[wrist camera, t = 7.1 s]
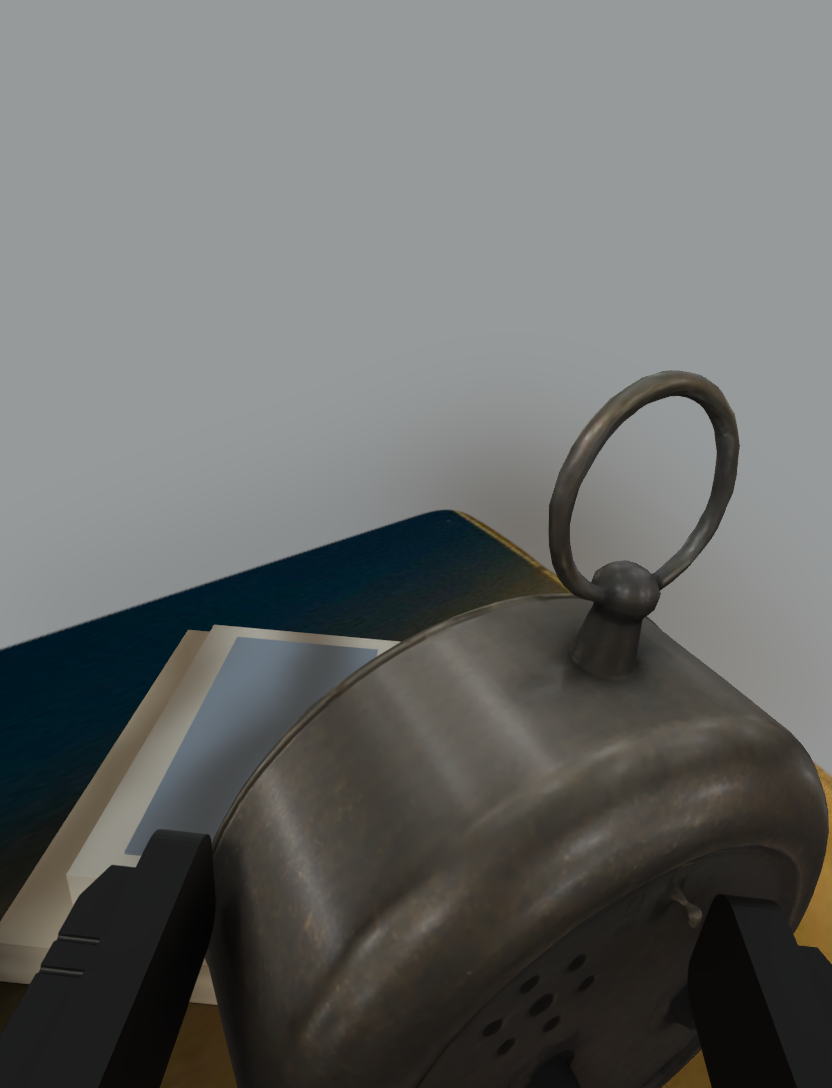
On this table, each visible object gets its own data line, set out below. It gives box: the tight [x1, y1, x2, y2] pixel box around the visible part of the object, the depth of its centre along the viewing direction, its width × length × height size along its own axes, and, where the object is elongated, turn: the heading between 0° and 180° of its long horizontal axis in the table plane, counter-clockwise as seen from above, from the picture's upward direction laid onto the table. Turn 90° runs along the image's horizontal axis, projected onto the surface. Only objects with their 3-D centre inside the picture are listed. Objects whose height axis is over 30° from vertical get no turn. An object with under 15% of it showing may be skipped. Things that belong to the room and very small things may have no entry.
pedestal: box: [0, 625, 400, 1005], centre depth 31 cm, size 14×18×4 cm
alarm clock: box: [205, 371, 829, 1088], centre depth 12 cm, size 11×5×16 cm, turn 117°
